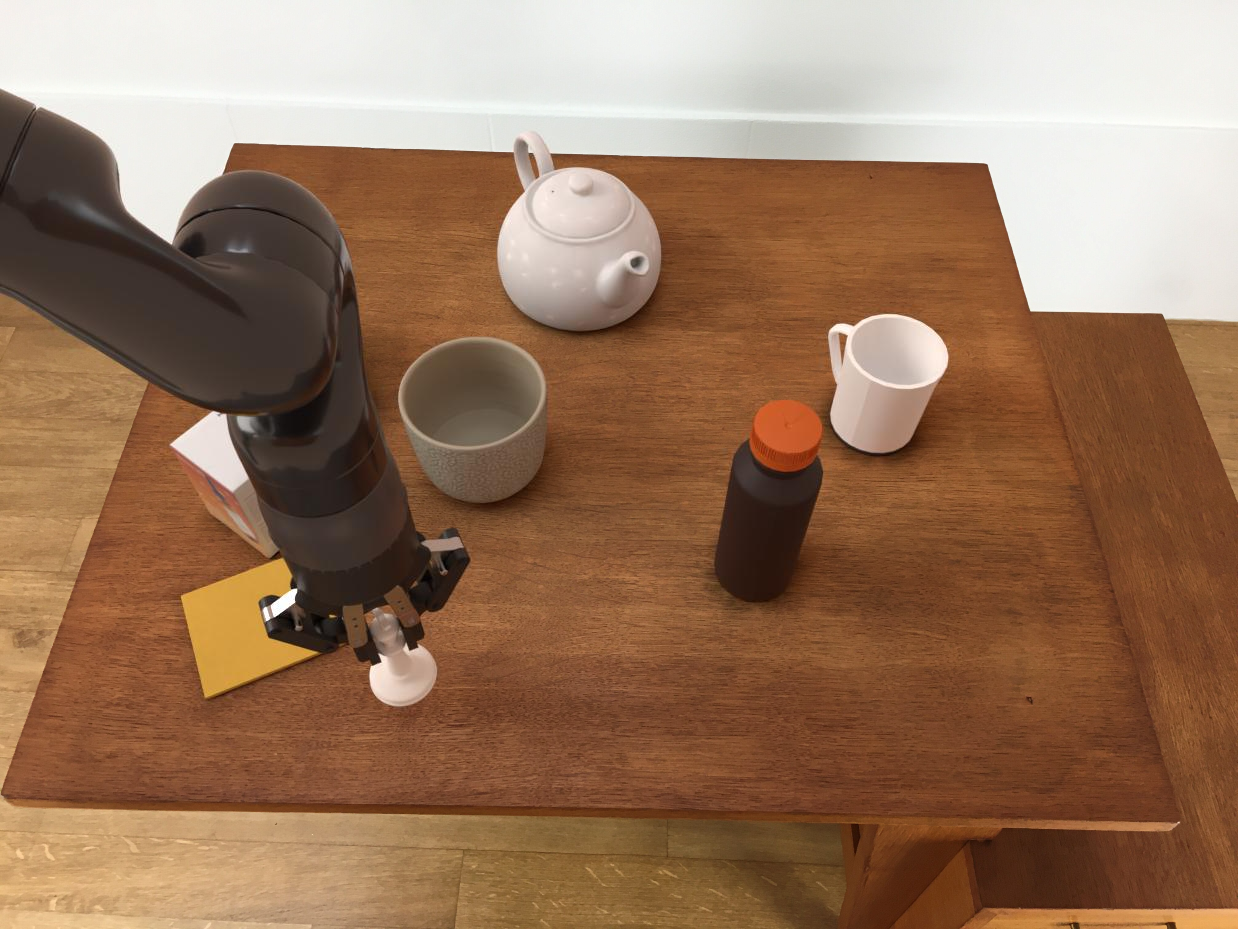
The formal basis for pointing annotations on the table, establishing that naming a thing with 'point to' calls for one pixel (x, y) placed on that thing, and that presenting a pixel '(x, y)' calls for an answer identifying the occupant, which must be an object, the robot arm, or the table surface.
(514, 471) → the planter
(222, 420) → the small box
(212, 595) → the ochre mat
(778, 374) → the table surface
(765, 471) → the bottle
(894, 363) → the mug
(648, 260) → the teapot
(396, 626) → the chess piece
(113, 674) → the table surface
